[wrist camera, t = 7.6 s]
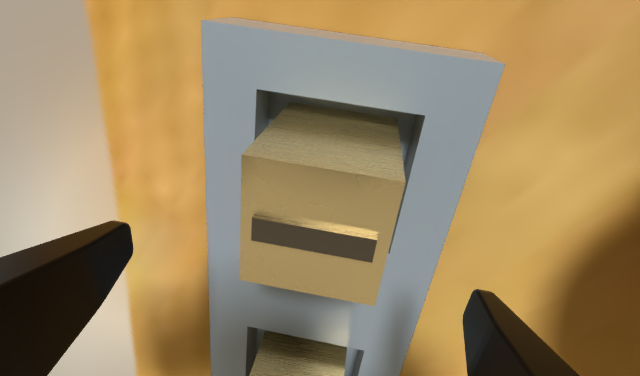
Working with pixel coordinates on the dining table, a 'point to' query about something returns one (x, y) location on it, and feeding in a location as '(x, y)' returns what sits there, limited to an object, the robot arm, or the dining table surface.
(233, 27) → the grey slotted plate
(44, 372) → the robot arm
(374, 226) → the block
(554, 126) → the dining table surface
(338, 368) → the block
